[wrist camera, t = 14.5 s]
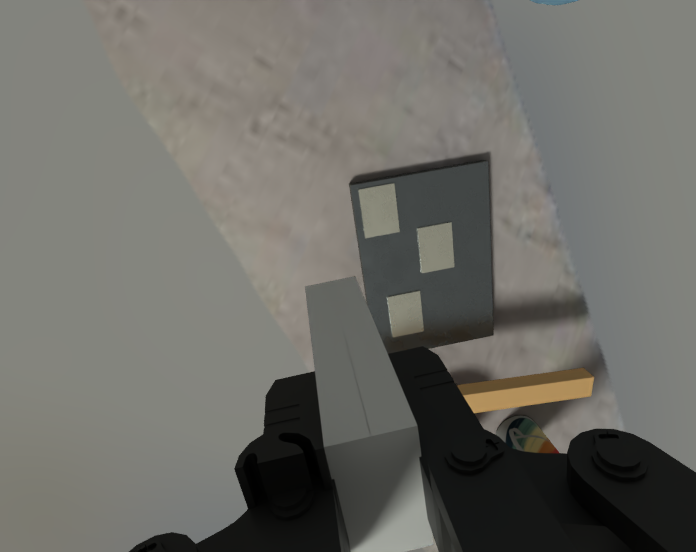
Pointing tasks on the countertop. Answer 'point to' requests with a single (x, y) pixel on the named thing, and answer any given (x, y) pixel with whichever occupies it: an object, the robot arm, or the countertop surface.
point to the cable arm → (527, 390)
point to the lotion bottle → (524, 435)
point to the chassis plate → (426, 255)
